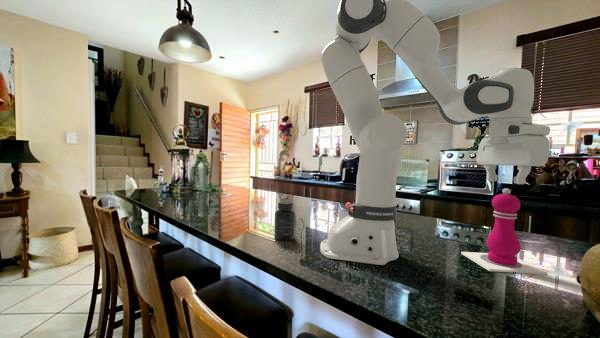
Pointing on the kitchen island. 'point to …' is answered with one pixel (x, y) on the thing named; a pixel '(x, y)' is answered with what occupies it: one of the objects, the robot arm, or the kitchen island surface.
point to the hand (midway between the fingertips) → (504, 182)
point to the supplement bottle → (284, 222)
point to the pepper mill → (504, 230)
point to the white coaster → (492, 266)
